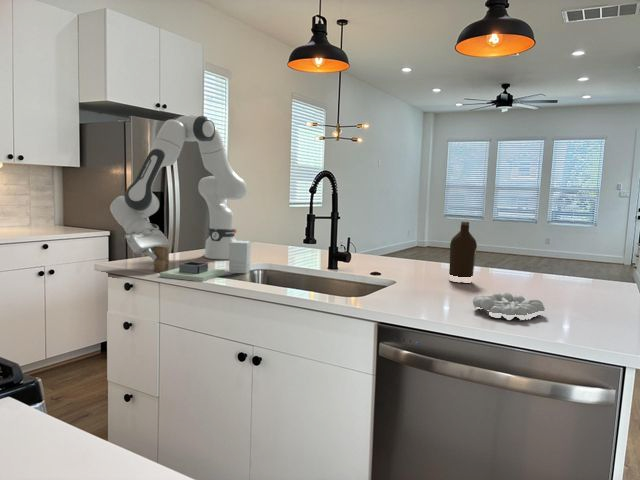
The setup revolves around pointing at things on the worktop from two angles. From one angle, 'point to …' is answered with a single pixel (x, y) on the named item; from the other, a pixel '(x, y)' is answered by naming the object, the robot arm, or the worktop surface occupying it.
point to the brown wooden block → (161, 258)
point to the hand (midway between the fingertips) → (161, 257)
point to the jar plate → (189, 276)
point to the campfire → (508, 304)
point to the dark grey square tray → (193, 267)
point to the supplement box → (239, 256)
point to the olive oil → (462, 253)
